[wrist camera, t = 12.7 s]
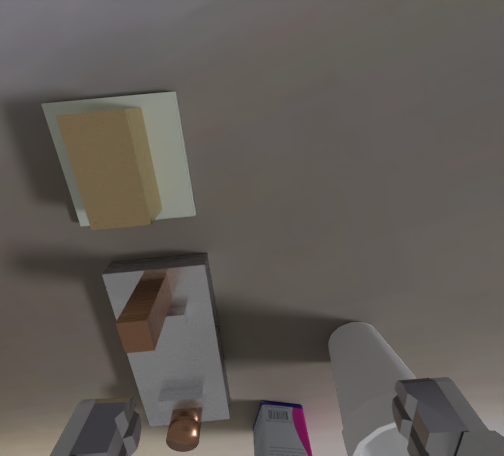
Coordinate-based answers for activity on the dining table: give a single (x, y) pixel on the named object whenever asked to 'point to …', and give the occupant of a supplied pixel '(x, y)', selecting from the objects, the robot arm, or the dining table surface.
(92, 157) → the tan upright box
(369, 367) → the foam cup
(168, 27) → the dining table surface
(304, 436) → the supplement box
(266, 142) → the dining table surface
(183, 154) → the sage mat
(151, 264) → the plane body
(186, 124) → the dining table surface
